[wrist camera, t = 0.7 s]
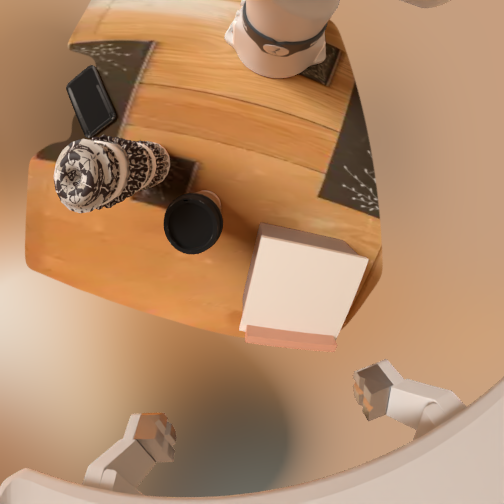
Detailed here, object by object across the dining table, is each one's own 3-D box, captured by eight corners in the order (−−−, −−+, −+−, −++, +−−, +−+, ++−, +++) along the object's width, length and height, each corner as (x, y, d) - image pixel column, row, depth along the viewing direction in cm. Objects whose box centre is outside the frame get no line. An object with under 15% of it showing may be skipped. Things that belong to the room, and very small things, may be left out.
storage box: (260, 222, 50) (263, 238, 41) (343, 240, 52) (362, 259, 43) (242, 296, 56) (242, 325, 46) (319, 308, 57) (331, 336, 48)
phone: (86, 139, 42) (65, 86, 38) (89, 139, 43) (67, 86, 39) (116, 116, 41) (92, 62, 37) (119, 117, 42) (95, 64, 38)
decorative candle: (119, 176, 46) (35, 201, 23) (139, 132, 44) (58, 123, 20) (158, 196, 48) (91, 237, 25) (180, 152, 45) (122, 153, 22)
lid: (261, 235, 41) (263, 243, 37) (366, 257, 42) (376, 266, 39) (239, 327, 46) (239, 341, 43) (333, 339, 48) (339, 352, 44)
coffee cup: (226, 181, 48) (218, 192, 33) (229, 226, 50) (224, 255, 36) (180, 185, 47) (155, 199, 33) (185, 230, 50) (164, 259, 36)
